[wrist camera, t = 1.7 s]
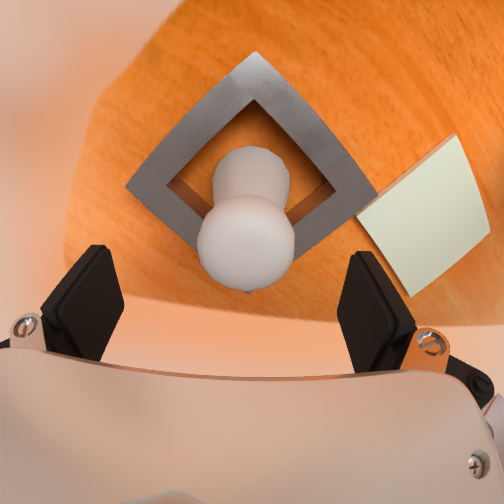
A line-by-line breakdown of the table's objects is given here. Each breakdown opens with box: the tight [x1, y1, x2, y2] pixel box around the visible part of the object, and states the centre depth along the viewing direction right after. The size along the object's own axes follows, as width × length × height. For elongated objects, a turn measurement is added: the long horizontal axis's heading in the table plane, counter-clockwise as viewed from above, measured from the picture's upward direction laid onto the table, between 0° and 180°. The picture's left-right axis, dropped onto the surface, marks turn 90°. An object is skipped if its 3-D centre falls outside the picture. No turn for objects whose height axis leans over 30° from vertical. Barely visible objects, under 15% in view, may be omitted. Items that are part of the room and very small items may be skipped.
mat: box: [355, 133, 491, 297], centre depth 24 cm, size 13×13×1 cm
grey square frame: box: [125, 51, 379, 294], centre depth 21 cm, size 14×14×3 cm
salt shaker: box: [197, 145, 295, 291], centre depth 17 cm, size 6×6×13 cm
